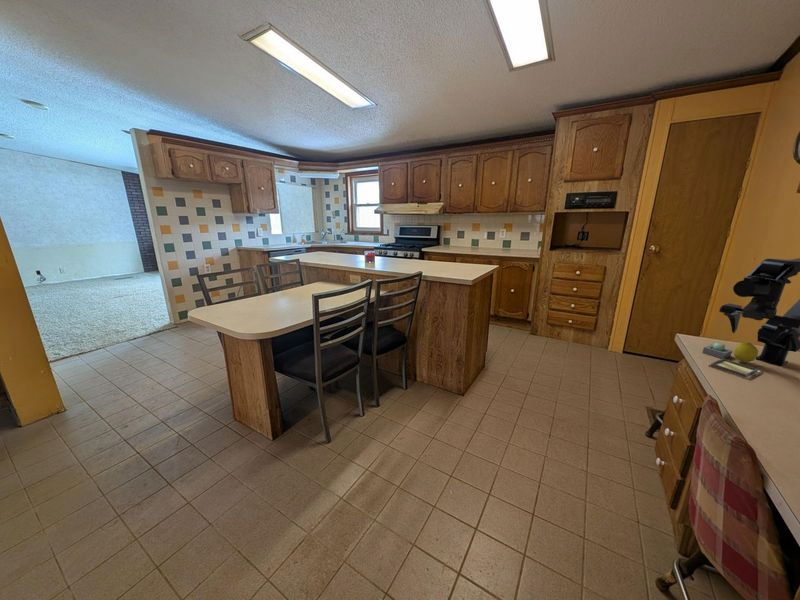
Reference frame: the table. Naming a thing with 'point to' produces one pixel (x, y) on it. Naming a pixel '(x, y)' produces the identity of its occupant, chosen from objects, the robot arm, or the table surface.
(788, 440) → the table surface
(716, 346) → the button
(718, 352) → the button housing
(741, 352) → the lemon
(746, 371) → the grey tray
